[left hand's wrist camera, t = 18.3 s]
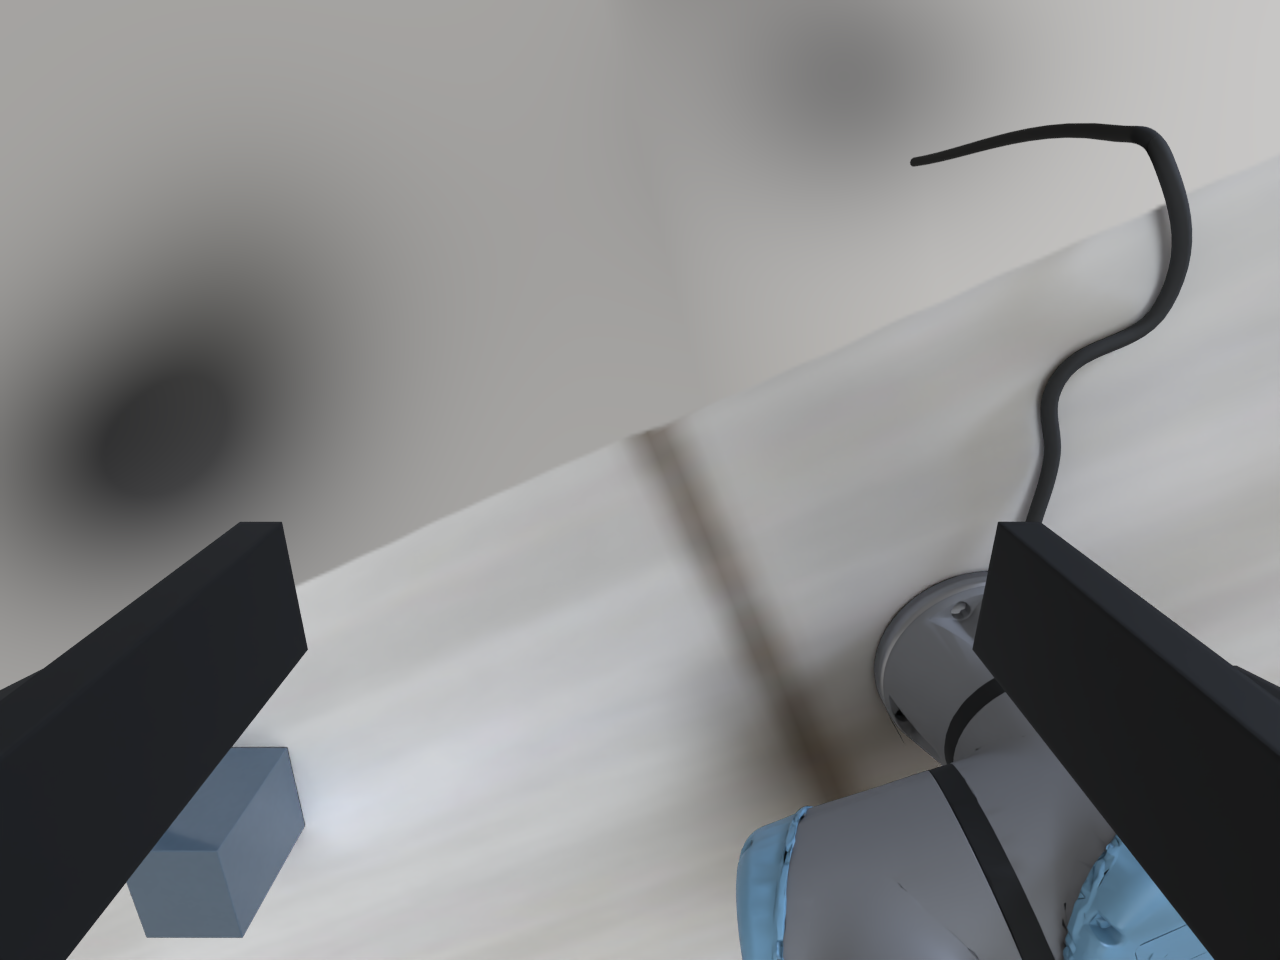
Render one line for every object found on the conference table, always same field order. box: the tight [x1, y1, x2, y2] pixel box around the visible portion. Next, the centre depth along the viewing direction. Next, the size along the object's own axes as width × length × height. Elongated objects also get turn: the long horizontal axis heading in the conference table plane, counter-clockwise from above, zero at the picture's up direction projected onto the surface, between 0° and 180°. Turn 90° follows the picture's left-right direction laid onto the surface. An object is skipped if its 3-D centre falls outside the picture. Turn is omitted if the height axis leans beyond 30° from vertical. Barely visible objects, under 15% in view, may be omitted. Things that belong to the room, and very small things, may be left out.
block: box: [126, 748, 305, 938], centre depth 52 cm, size 7×8×10 cm
